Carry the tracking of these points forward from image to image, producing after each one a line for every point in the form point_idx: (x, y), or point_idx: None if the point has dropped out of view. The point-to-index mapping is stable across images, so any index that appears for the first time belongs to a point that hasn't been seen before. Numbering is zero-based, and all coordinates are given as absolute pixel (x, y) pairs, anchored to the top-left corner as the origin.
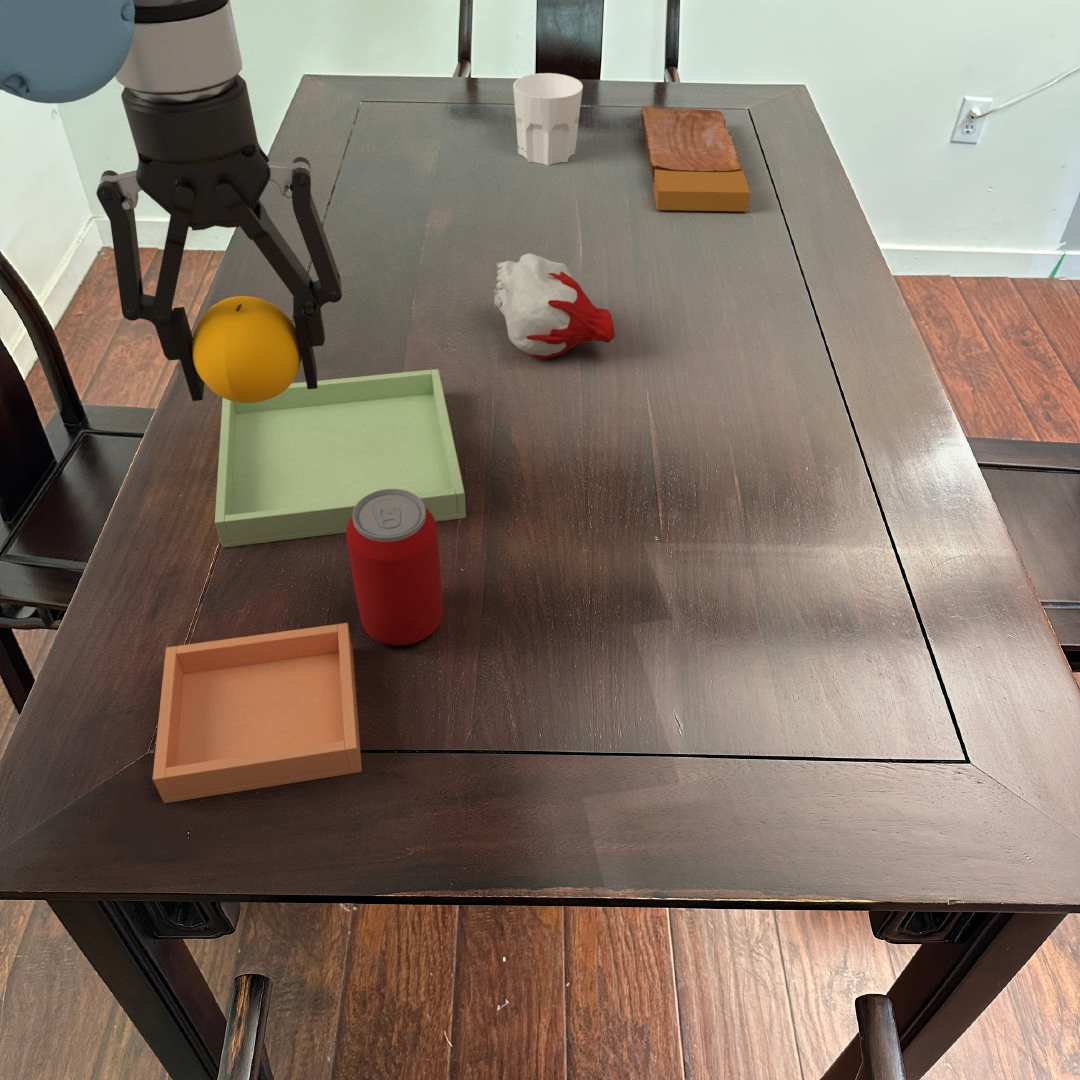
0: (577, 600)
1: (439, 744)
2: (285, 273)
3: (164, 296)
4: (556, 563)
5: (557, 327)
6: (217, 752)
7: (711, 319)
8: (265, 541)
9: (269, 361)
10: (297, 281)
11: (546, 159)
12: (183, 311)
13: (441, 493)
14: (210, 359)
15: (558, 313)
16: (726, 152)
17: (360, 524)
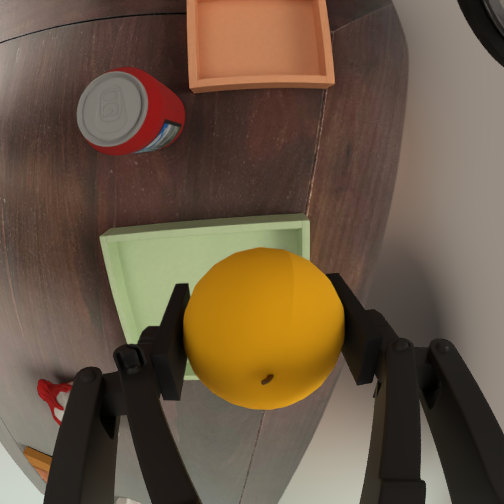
0: (43, 141)
1: (139, 19)
2: (150, 423)
3: (402, 377)
4: (52, 176)
5: (63, 393)
6: (287, 16)
7: (13, 385)
8: (268, 215)
9: (217, 279)
10: (133, 405)
11: (127, 500)
12: (359, 375)
13: (116, 237)
14: (318, 284)
15: (60, 401)
16: (44, 477)
17: (139, 94)
